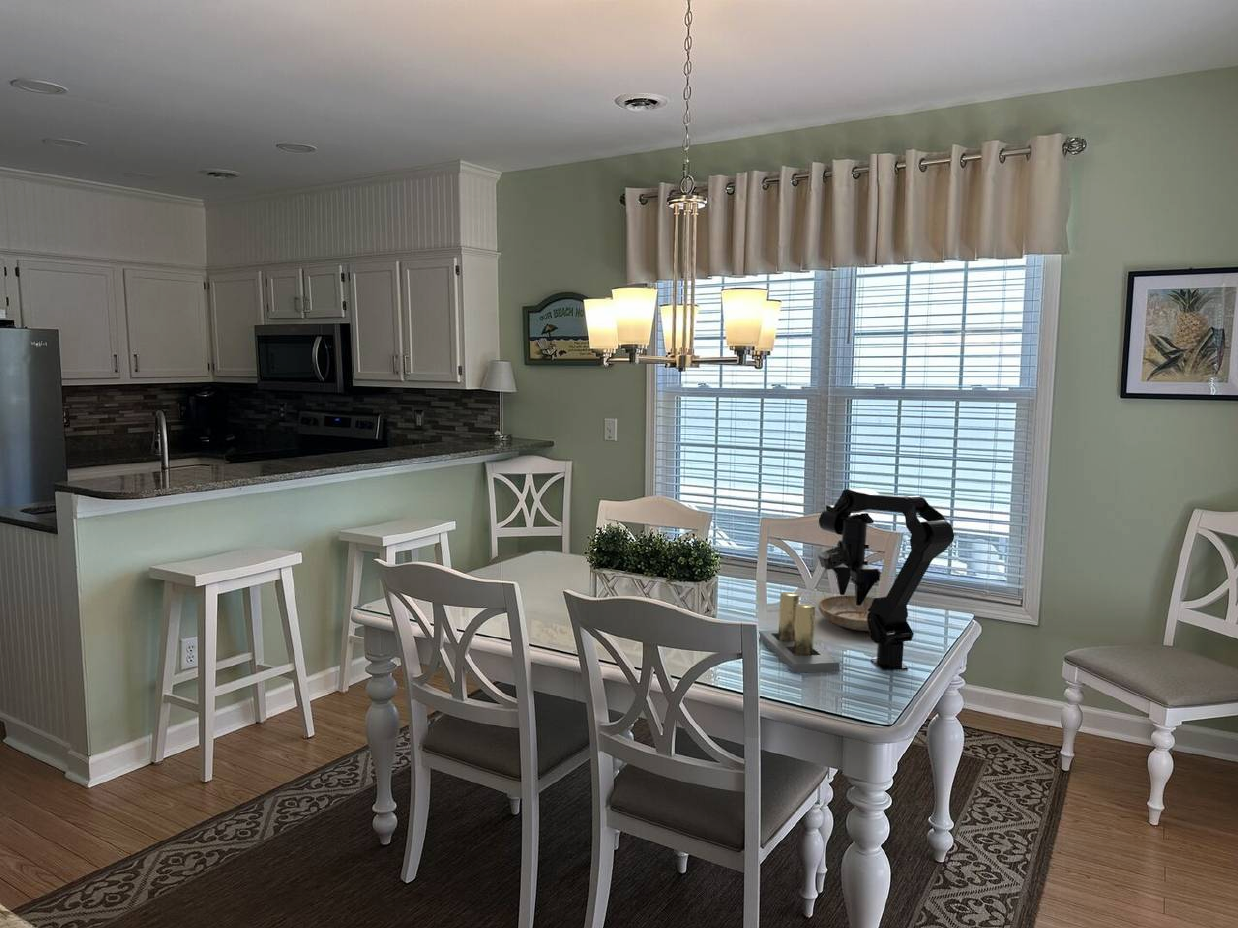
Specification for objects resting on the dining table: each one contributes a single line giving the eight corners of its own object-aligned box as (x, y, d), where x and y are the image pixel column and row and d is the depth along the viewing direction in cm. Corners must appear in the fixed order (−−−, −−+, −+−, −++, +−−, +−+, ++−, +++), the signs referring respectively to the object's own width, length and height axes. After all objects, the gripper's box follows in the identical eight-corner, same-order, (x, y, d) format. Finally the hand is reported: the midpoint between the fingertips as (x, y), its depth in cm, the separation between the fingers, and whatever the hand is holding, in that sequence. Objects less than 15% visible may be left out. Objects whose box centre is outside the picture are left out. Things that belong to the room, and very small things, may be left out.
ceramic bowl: (799, 617, 238) (800, 599, 238) (863, 608, 249) (864, 591, 248) (857, 642, 218) (859, 624, 217) (924, 631, 229) (926, 613, 228)
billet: (798, 647, 213) (801, 596, 211) (781, 648, 212) (784, 597, 210) (792, 641, 217) (794, 591, 215) (775, 642, 216) (777, 592, 215)
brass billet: (815, 661, 203) (818, 608, 201) (797, 662, 202) (800, 609, 200) (808, 655, 207) (811, 603, 206) (790, 656, 206) (793, 603, 205)
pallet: (839, 670, 197) (839, 662, 197) (794, 672, 195) (794, 664, 195) (799, 637, 221) (799, 629, 221) (758, 638, 219) (759, 630, 219)
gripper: (808, 531, 219) (804, 590, 221) (839, 547, 201) (835, 611, 203) (849, 530, 221) (845, 589, 223) (883, 546, 203) (879, 610, 205)
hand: (850, 599), depth 213 cm, fingers open, 9 cm apart
